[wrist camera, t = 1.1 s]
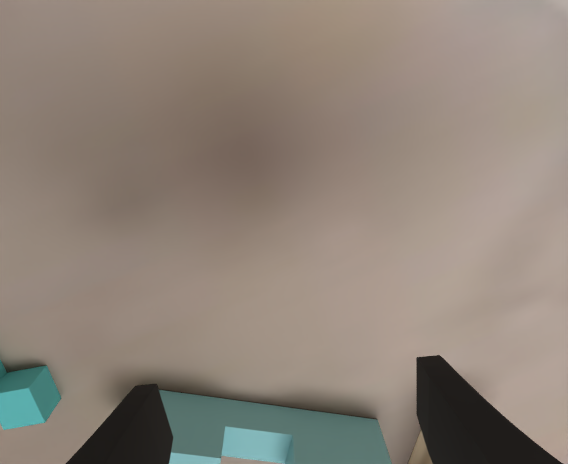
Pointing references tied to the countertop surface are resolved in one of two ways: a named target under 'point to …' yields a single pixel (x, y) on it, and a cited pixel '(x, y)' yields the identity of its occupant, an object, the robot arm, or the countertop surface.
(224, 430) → the teal long bar
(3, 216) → the countertop surface
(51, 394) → the alien figure
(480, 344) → the countertop surface
